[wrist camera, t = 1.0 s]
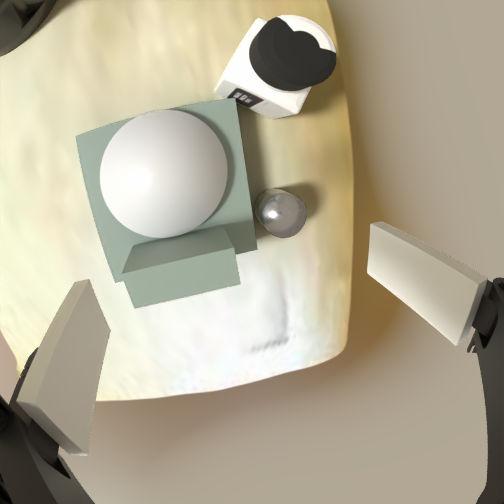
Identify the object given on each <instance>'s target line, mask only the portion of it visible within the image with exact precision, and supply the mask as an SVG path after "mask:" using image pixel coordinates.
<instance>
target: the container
mask: <svg viewBox="0 0 504 504" xmlns="http://www.w3.org/2000/svg"><path fill="white" fill-rule="evenodd" d="M335 65H336V51H335V47H334V44H333V42H332V40H331V38H330V37H329V35H328V34H327V33H326V31H325V30H324V29H323V28H322V27H320V26H319V25H318V24H316V23H315V22H313V21H311V20H309V19H307V18H304V17H301V16H297V15H282V16H278V17H275V18H273V19H271V20H269V21H267V20H264V19H262V18H258V19H256V20H255V22H254V23H253V25H252V26H251V28H250V29H249V30H248V32H247V33H246V35H245V36H244V38H243V39H242V41H241V42H240V44H239V46H238V47H237V49H236V51H235V52H234V54H233V56H232V58H231V59H230V61H229V63H228V65H227V67H226V68H225V70H224V72H223V74H222V76H221V78H220V80H219V81H218V83H217V85H216V87H215V89H214V93H215V94H216V95H219V96H221V97H224V98H226V99H230V98H235V100H236V103H237V104H240V105H242V106H244V107H246V108H248V109H250V110H252V111H255V112H257V113H259V114H261V115H263V116H265V117H267V118H269V119H271V120H273V119H277V118H281V117H286V116H290V115H294V114H298V113H299V112H300V110H301V108H302V106H303V104H304V101H305V99H306V97H307V95H308V93H309V91H310V89H311V87H312V86H313V85H316V84H319V83H321V82H323V81H324V80H326V79H327V78H328V77H329V76H330V75H331V74H332V72H333V70H334V68H335Z"/></svg>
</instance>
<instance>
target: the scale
mask: <svg viewBox="0 0 504 504" xmlns="http://www.w3.org/2000/svg"><path fill="white" fill-rule="evenodd" d="M76 141H77V147H78V153H79V158H80V163H81V168H82V173H83V177H84V182H85V186H86V190H87V194H88V198H89V202H90V206H91V210H92V213H93V217H94V221H95V224H96V227H97V231H98V234H99V237H100V240H101V244H102V247H103V250H104V253H105V256H106V259H107V261H108V264H109V267H110V270H111V273H112V275H113V278H114V281H115V283H117V282H121V281H124V283H125V285H126V288H127V291H128V293H129V296H130V298H131V301H132V303H133V306H134V308H140V307H145V306H146V307H147V306H151V305H156V304H160V303H165V302H169V301H174V300H178V299H183V298H187V297H191V296H195V295H200V294H204V293H208V292H212V291H217V290H221V289H225V288H229V287H231V286H235V285H239V284H241V283H240V278H239V272H238V267H237V261H236V256H235V255H236V254H241V253H245V252H249V251H254V250H258V249H257V242H256V235H255V228H254V221H253V214H252V207H251V201H250V194H249V187H248V180H247V173H246V167H245V160H244V153H243V146H242V140H241V133H240V126H239V120H238V113H237V107H236V100H235V98H230V99H222V100H215V101H209V102H202V103H196V104H191V105H185V106H180V107H175V108H171V109H166V110H157V111H151V112H148V113H145V114H142V115H140V116H137V117H133V118H130V119H126V120H123V121H119V122H116V123H113V124H110V125H106V126H103V127H100V128H97V129H94V130H91V131H89V132H86V133H83V134H80V135H78V136H76Z"/></svg>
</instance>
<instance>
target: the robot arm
mask: <svg viewBox="0 0 504 504" xmlns="http://www.w3.org/2000/svg"><path fill="white" fill-rule="evenodd" d="M55 2H56V0H0V56H2V55H5V54H6V53H8V52H10V51H11V50H13V49H14V48H16V47H17V46H18V45H20V44H21V43H22V42H23V41H24V40H25V39H27V38H28V37H29V36H30V35H31V34H32V33H33V32H34V31H35V30H36V28H37V27H38V26H39V25H40V24H41V23H42V21H43V20H44V19H45V18H46V16H47V15H48V13H49V12H50V10H51V9H52V7H53V6H54V4H55ZM367 273H368V274H369V275H370V276H371V277H373V278H374V279H376V280H377V281H378V282H379V283H381V284H382V285H383V286H384V287H386V288H387V289H388V290H389V291H391V292H392V293H393V294H394V295H396V296H397V297H398V298H399V299H401V300H402V301H403V302H404V303H406V304H407V305H408V306H409V307H411V308H412V309H413V310H414V311H415V312H417V313H418V314H419V315H420V316H421V317H423V318H424V319H425V320H426V321H427V322H429V323H430V324H431V325H432V326H433V327H435V328H436V329H437V330H438V331H439V332H441V333H442V334H443V335H444V336H445V337H446V338H447V339H449V340H450V341H451V342H452V343H453V344H454V345H455V346H457V345H458V344H460V343H461V342H463V341H464V340H465V339H467V336H468V334H469V331H470V329H471V327H472V326H473V327H474V328H475V329H476V330H475V333H474V335H473V337H472V340H471V342H470V344H469V346H468V348H467V352H470V350H471V348H472V346H474V345H475V347H474V349H473V352H472V353H477V355H478V360H479V365H480V370H481V376H482V383H483V389H484V397H485V406H486V417H487V434H488V468H487V482H486V486H485V489H484V491H483V492H482V494H481V495H480V497H479V498H478V500H477V503H476V504H504V278H496V279H494V280H493V283H492V282H490V281H489V280H488V278H487V277H485V276H483V275H481V274H480V273H478V272H477V271H475V270H473V269H471V268H470V267H468V266H466V265H464V264H463V263H461V262H460V261H458V260H456V259H454V258H452V257H451V256H449V255H447V254H445V253H443V252H442V251H440V250H438V249H436V248H434V247H432V246H430V245H429V244H426V243H425V242H423V241H421V240H419V239H417V238H415V237H413V236H411V235H409V234H407V233H405V232H403V231H401V230H399V229H397V228H395V227H393V226H391V225H389V224H387V223H384V222H382V221H381V222H376V223H371V227H370V243H369V257H368V268H367ZM110 331H111V330H110V328H109V326H108V324H107V322H106V319H105V317H104V315H103V312H102V310H101V308H100V305H99V303H98V300H97V298H96V296H95V293H94V290H93V288H92V285H91V283H90V280H89V279H88V280H83V281H78V282H75V283H74V284H73V286H72V288H71V289H70V291H69V293H68V294H67V296H66V298H65V299H64V301H63V303H62V305H61V306H60V308H59V310H58V312H57V313H56V315H55V317H54V319H53V321H52V323H51V325H50V326H49V328H48V330H47V332H46V334H45V336H44V338H43V340H42V342H41V344H40V346H39V348H36V349H35V351H34V352H33V353H32V354H31V355H30V356H29V358H28V360H27V362H26V364H25V366H24V369H23V371H22V373H21V375H20V376H21V378H19V380H18V383H17V385H16V387H15V390H14V393H13V395H12V398H11V400H10V403H9V405H8V403H7V402H6V401H5V400H4V399H3V398H2V396H1V395H0V504H95V503H94V502H93V501H92V499H91V498H90V497H89V495H88V494H87V493H86V492H85V490H84V489H83V487H82V486H81V485H80V483H79V482H78V480H77V479H76V478H75V476H74V475H73V473H72V472H71V470H70V469H69V467H68V466H67V464H66V462H65V461H64V459H63V458H62V457H61V456H60V455H59V454H58V449H59V446H60V447H62V448H63V449H64V450H65V451H66V452H67V453H69V454H71V455H84V456H85V455H86V456H88V455H89V444H90V435H91V427H92V419H93V413H94V406H95V401H96V395H97V389H98V384H99V379H100V374H101V369H102V364H103V360H104V356H105V351H106V347H107V343H108V339H109V335H110Z"/></svg>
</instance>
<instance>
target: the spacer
mask: <svg viewBox="0 0 504 504" xmlns="http://www.w3.org/2000/svg"><path fill="white" fill-rule="evenodd" d="M255 215H256V218H257V219H258V221H259V222H260V223H261V224H262V225H263V226H264V227H265V228H266V229H267V230H268V231H269V232H270V233H271V234H272V235H274V236H276V237H279V238H288V237H291V236H294V235H295V234H297V233H298V232H299V231H300V230H301V229H302V227H303V226H304V224H305V221H306V216H307V212H306V207H305V205H304V203H303V202H302V200H301V199H300V198H298V197H297V196H295V195H293V194H290V193H288V192H286V191H284V190H282V189H277V188H274V189H269V190H267V191H265V192H263V193H262V194H261V195H260V196H259V198H258V199H257V201H256V204H255Z"/></svg>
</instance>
